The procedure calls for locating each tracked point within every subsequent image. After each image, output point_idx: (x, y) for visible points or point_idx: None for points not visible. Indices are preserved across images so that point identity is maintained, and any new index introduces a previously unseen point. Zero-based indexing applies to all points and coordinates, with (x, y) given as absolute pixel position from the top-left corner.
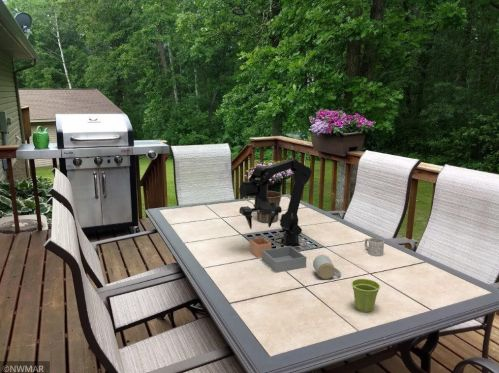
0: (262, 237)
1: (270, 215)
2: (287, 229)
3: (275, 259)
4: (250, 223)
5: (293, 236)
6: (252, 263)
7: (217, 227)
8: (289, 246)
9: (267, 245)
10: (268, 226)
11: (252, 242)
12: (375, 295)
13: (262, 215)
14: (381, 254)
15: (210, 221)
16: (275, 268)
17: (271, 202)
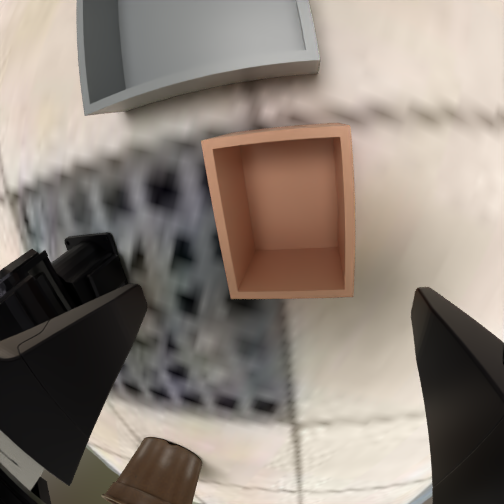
0: (238, 298)
1: (36, 405)
2: (51, 290)
3: (226, 55)
4: (482, 335)
5: (58, 262)
6: (393, 50)
7: (344, 466)
8: (92, 107)
9: (243, 133)
10: (145, 308)
11: (354, 235)
12: None
13: (182, 469)
14: None
15: (339, 486)
16: None
17: (137, 494)
